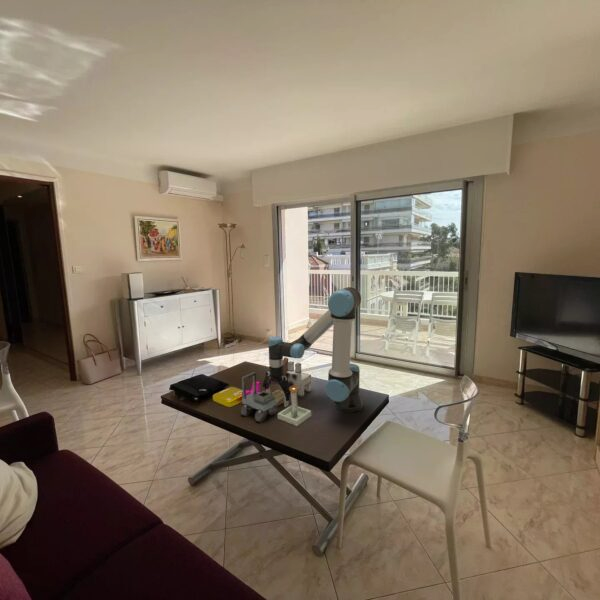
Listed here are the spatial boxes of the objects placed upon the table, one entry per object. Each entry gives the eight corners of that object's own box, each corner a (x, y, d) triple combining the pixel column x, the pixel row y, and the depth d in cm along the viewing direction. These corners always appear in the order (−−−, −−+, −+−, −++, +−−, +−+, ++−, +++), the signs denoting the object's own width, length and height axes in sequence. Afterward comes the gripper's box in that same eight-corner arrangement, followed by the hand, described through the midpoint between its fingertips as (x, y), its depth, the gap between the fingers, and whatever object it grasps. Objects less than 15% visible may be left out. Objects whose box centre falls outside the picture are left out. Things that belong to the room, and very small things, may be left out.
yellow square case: (232, 392, 190) (231, 385, 190) (249, 399, 181) (249, 391, 180) (211, 402, 179) (211, 394, 178) (229, 410, 169) (228, 401, 169)
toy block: (252, 406, 172) (252, 393, 171) (242, 405, 174) (241, 392, 173) (264, 394, 186) (263, 382, 185) (254, 393, 188) (253, 381, 187)
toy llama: (313, 389, 192) (312, 357, 189) (296, 400, 178) (296, 366, 175) (303, 386, 196) (302, 355, 193) (286, 397, 182) (285, 363, 179)
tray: (311, 416, 160) (311, 410, 160) (296, 426, 151) (296, 421, 150) (292, 409, 167) (292, 404, 167) (277, 419, 158) (277, 413, 158)
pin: (300, 415, 159) (300, 387, 157) (295, 419, 156) (294, 390, 154) (293, 413, 162) (293, 384, 160) (287, 417, 159) (287, 388, 156)
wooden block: (288, 379, 208) (288, 352, 205) (275, 383, 201) (274, 356, 198) (285, 377, 211) (284, 351, 208) (272, 382, 204) (271, 355, 201)
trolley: (279, 413, 164) (278, 376, 161) (260, 425, 153) (258, 385, 150) (258, 405, 173) (257, 370, 170) (239, 416, 162) (237, 378, 159)
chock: (284, 402, 176) (284, 391, 175) (276, 407, 171) (276, 396, 170) (278, 399, 179) (277, 389, 178) (269, 404, 174) (269, 394, 173)
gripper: (298, 367, 168) (299, 406, 171) (264, 359, 182) (265, 394, 185) (289, 372, 162) (290, 411, 165) (255, 363, 176) (256, 399, 179)
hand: (277, 402), depth 175 cm, fingers open, 12 cm apart
